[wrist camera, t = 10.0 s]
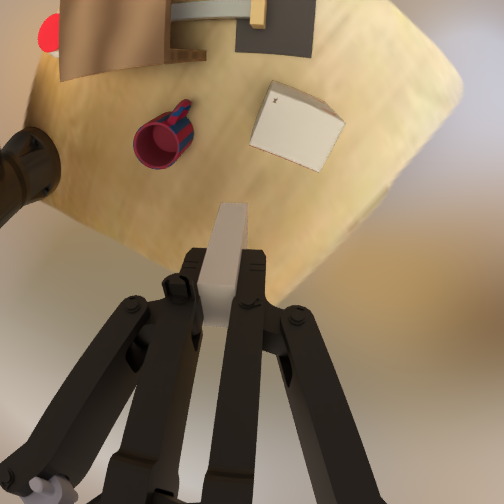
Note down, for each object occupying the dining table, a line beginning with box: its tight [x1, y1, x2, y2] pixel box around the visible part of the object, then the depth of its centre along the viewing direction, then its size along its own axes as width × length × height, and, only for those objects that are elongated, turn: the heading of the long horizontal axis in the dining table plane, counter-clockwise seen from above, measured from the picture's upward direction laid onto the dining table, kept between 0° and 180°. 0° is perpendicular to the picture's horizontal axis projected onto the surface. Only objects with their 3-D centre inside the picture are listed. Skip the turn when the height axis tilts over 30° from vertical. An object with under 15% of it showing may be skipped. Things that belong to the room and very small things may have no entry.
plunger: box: [171, 0, 267, 29], centre depth 26 cm, size 22×9×6 cm, turn 87°
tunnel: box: [59, 0, 206, 82], centre depth 22 cm, size 20×14×16 cm
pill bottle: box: [38, 11, 60, 58], centre depth 25 cm, size 8×8×11 cm
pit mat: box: [235, 0, 316, 58], centre depth 28 cm, size 10×12×1 cm
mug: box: [133, 99, 194, 169], centre depth 36 cm, size 7×10×7 cm
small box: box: [249, 81, 345, 173], centre depth 32 cm, size 8×6×13 cm
